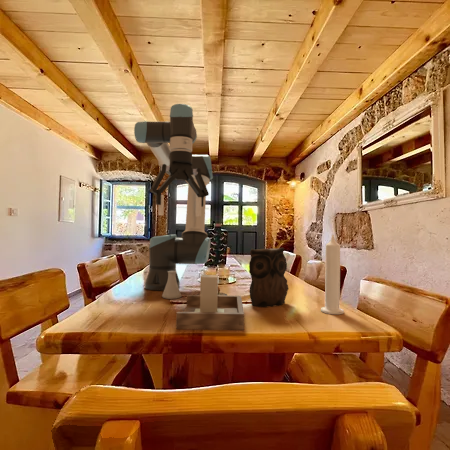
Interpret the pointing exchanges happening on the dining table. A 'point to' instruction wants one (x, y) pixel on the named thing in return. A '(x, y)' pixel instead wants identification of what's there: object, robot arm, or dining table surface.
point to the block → (209, 293)
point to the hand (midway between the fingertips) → (180, 215)
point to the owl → (268, 277)
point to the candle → (332, 278)
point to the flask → (171, 287)
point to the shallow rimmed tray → (212, 314)
